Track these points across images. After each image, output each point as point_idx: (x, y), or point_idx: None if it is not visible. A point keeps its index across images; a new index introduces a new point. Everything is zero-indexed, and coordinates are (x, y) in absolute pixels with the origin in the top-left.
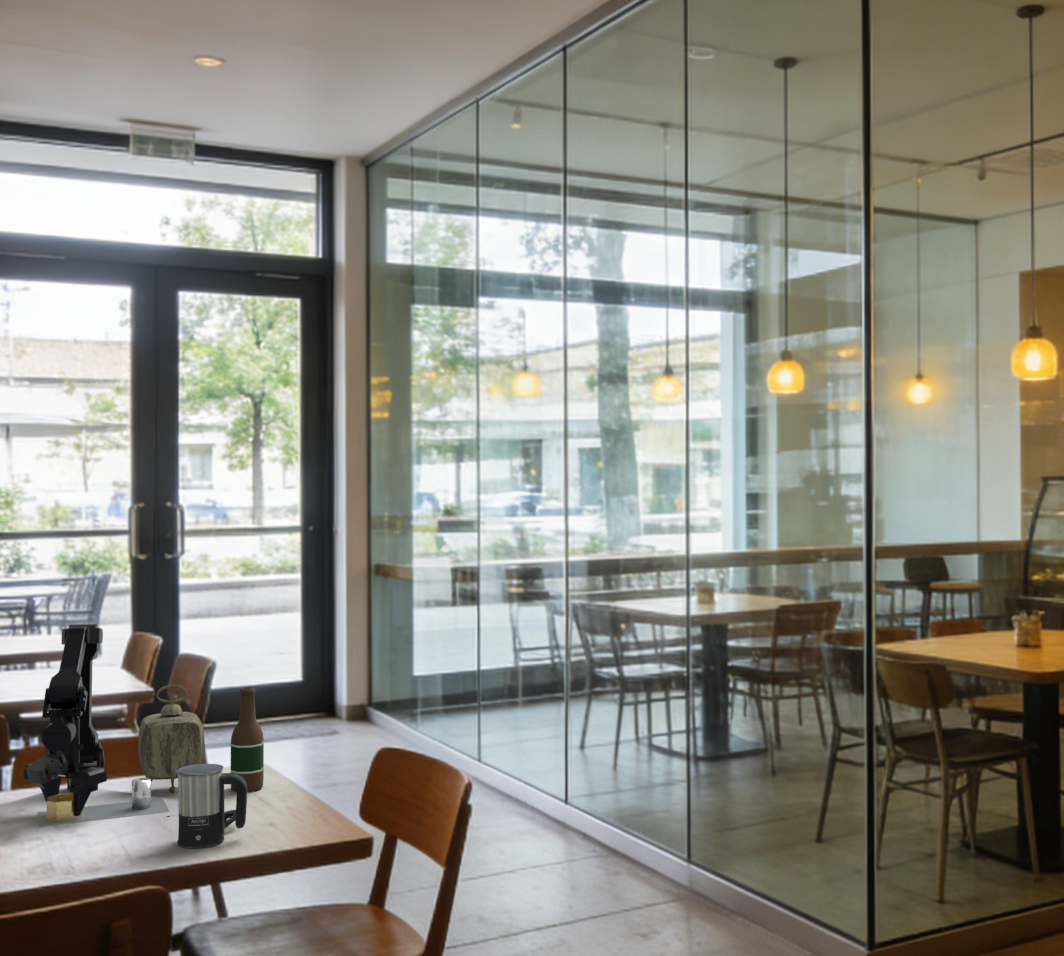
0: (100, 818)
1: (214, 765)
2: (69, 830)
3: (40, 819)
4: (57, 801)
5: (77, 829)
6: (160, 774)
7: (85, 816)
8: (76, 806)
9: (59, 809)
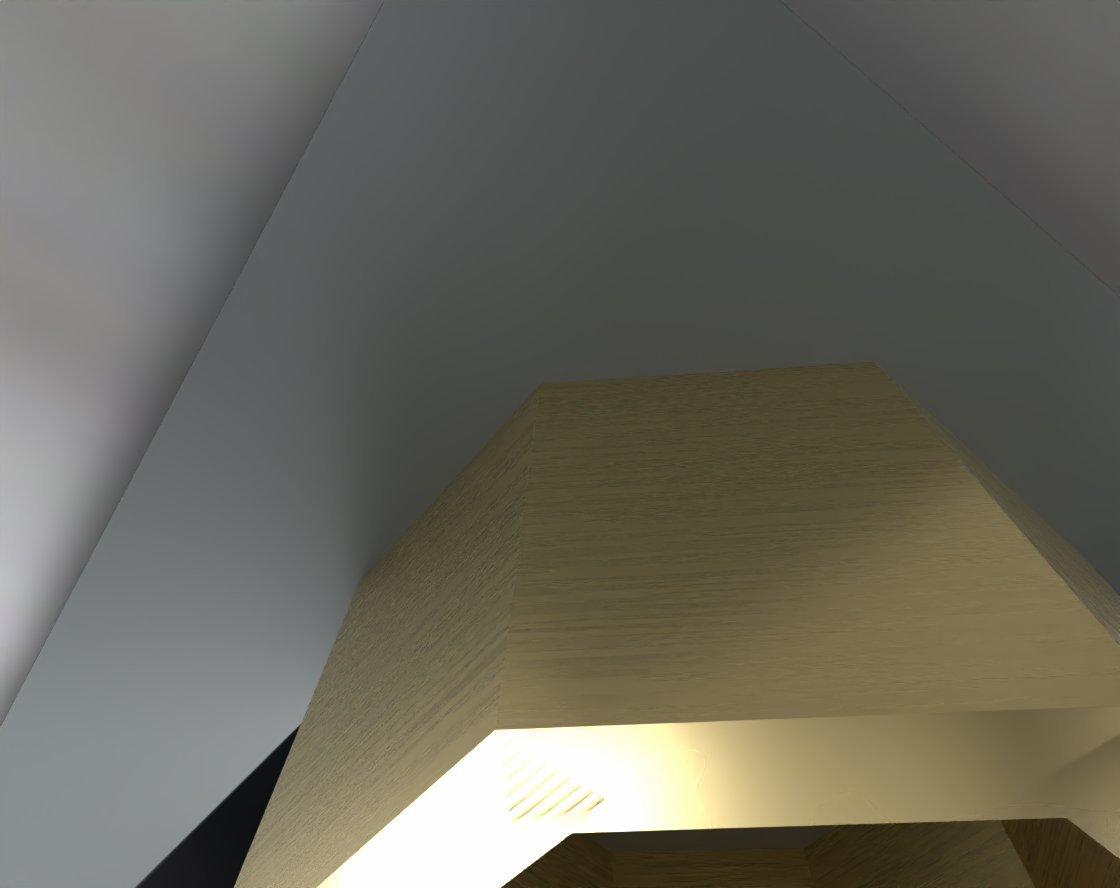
0: (35, 822)
1: None
2: (129, 317)
3: (1041, 303)
4: (596, 814)
5: (80, 428)
6: None
7: None
8: (165, 875)
9: (472, 593)
